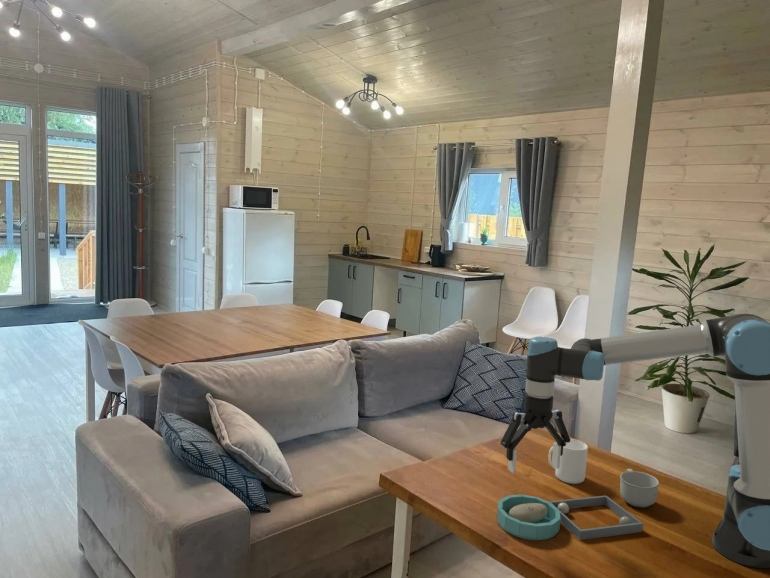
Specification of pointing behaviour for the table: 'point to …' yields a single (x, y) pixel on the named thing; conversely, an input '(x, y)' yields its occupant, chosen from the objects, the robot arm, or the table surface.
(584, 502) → the tray
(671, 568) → the table surface
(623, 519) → the pebble
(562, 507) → the white round ball
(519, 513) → the stone
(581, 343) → the robot arm
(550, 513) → the bowl
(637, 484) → the teacup
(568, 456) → the mug
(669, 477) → the table surface
